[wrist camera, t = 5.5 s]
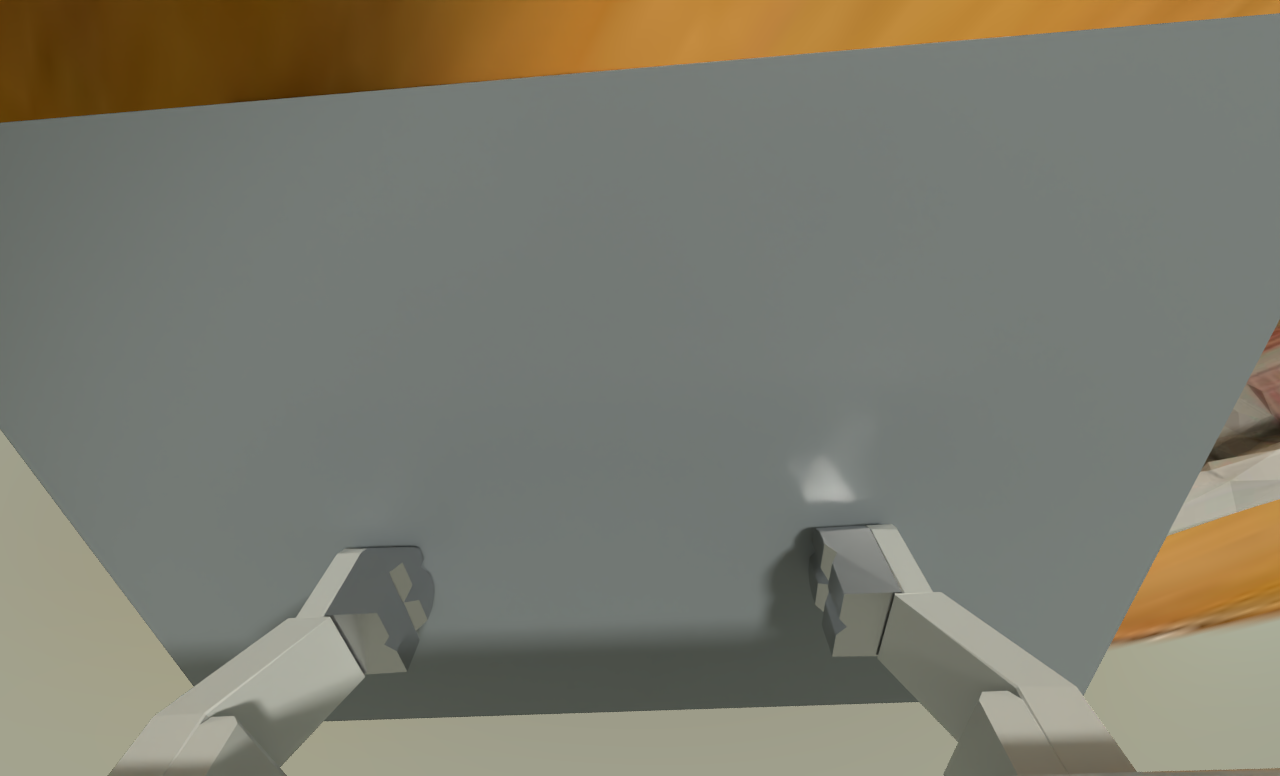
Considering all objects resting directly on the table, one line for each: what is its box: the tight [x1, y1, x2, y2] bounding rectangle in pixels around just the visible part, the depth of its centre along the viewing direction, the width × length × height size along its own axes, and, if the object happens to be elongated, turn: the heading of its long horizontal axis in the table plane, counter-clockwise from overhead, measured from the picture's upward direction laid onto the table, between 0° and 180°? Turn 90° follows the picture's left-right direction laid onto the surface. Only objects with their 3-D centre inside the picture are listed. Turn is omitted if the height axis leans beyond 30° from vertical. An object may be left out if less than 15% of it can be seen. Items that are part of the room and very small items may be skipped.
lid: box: [0, 13, 1280, 721], centre depth 11 cm, size 14×22×1 cm, turn 94°
